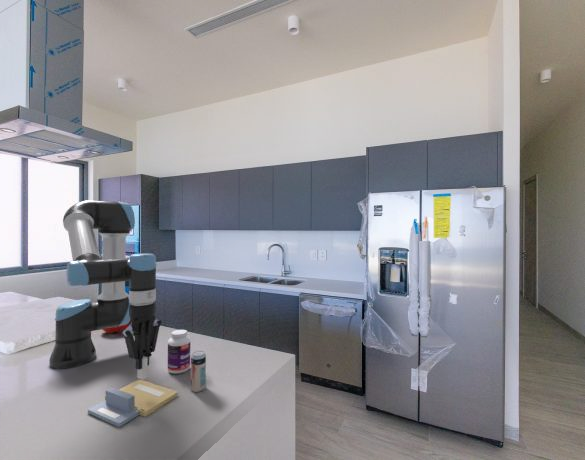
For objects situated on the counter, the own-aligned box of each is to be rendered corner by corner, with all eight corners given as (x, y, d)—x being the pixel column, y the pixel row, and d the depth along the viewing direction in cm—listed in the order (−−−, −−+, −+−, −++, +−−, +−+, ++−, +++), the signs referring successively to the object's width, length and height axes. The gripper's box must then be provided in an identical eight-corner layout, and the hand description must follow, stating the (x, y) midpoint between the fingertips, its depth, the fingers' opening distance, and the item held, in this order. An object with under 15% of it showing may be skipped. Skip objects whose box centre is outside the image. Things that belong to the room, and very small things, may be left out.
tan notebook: (104, 400, 93) (105, 396, 93) (139, 382, 104) (139, 378, 104) (144, 416, 85) (144, 412, 85) (177, 395, 96) (177, 391, 96)
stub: (87, 412, 86) (87, 395, 86) (108, 401, 92) (108, 385, 92) (119, 427, 80) (119, 408, 80) (139, 414, 86) (139, 397, 86)
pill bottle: (182, 376, 108) (182, 336, 108) (162, 373, 110) (163, 334, 110) (194, 366, 116) (194, 329, 116) (175, 364, 118) (176, 327, 118)
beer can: (192, 385, 102) (192, 350, 102) (206, 384, 103) (207, 350, 103) (188, 393, 97) (189, 356, 97) (203, 392, 98) (204, 356, 98)
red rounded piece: (95, 332, 153) (96, 312, 153) (129, 324, 165) (129, 306, 165) (106, 338, 144) (106, 318, 143) (141, 330, 156) (141, 311, 156)
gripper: (131, 309, 87) (131, 390, 87) (167, 299, 98) (167, 371, 98) (115, 306, 90) (114, 384, 90) (152, 297, 102) (151, 367, 102)
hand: (142, 377), depth 94 cm, fingers closed
